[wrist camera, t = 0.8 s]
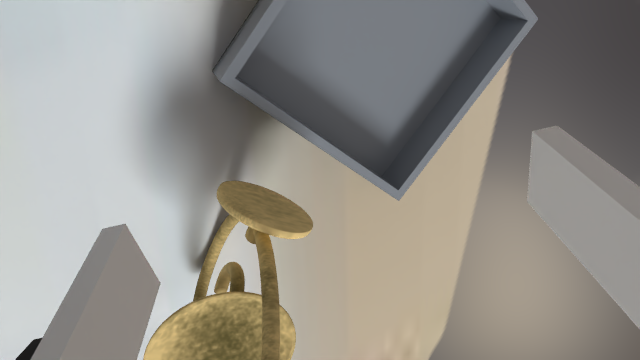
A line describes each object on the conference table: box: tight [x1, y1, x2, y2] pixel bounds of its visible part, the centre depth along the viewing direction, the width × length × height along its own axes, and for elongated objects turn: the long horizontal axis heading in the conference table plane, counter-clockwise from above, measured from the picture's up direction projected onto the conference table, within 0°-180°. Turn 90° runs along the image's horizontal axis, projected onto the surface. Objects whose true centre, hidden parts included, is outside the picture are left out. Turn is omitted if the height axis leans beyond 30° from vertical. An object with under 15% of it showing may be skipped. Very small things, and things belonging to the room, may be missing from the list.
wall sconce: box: [143, 181, 313, 360], centre depth 25 cm, size 14×10×25 cm
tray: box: [213, 0, 538, 201], centre depth 31 cm, size 17×18×4 cm
